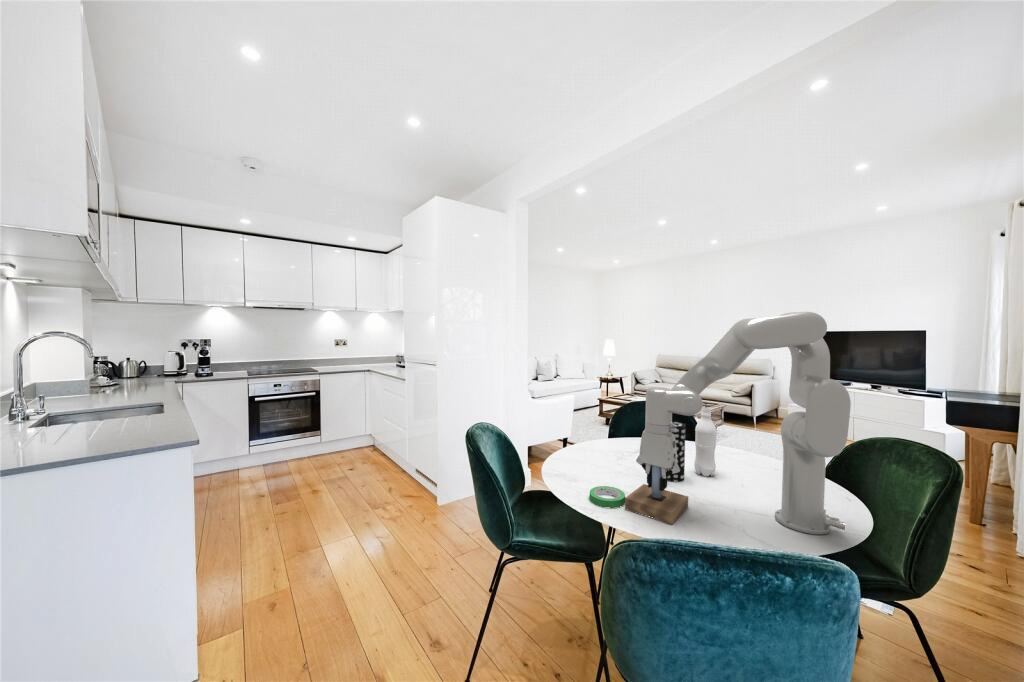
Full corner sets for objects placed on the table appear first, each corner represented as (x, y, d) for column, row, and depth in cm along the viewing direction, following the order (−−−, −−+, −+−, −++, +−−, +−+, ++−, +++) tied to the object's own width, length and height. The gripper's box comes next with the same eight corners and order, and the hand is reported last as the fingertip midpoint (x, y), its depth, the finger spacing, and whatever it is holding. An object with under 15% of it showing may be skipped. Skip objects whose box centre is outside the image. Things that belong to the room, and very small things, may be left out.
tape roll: (584, 503, 121) (584, 494, 121) (597, 490, 130) (597, 483, 130) (618, 512, 114) (618, 504, 114) (629, 499, 123) (629, 491, 123)
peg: (663, 495, 116) (664, 463, 116) (659, 499, 114) (660, 466, 114) (653, 492, 118) (654, 461, 118) (649, 496, 116) (650, 463, 116)
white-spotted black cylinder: (679, 473, 144) (680, 421, 144) (687, 482, 136) (688, 427, 135) (657, 472, 145) (658, 420, 145) (663, 481, 137) (664, 426, 136)
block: (688, 507, 117) (688, 496, 117) (672, 525, 107) (672, 512, 106) (643, 494, 126) (643, 483, 126) (624, 509, 116) (625, 497, 116)
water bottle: (719, 477, 141) (720, 410, 140) (699, 477, 141) (701, 410, 140) (709, 470, 148) (711, 406, 147) (690, 470, 148) (692, 406, 147)
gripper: (690, 431, 113) (688, 491, 114) (637, 421, 124) (636, 477, 124) (682, 436, 107) (680, 500, 108) (627, 425, 118) (626, 484, 119)
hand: (656, 487), depth 116 cm, fingers closed on peg, 3 cm apart
